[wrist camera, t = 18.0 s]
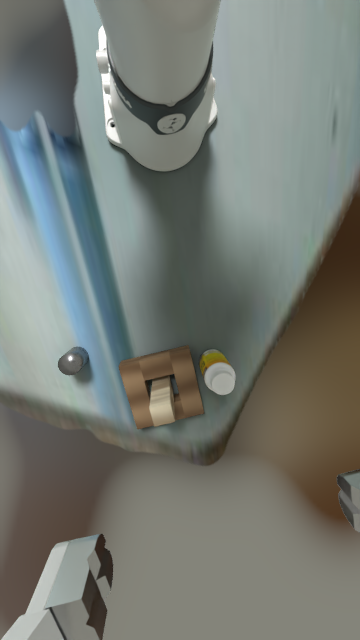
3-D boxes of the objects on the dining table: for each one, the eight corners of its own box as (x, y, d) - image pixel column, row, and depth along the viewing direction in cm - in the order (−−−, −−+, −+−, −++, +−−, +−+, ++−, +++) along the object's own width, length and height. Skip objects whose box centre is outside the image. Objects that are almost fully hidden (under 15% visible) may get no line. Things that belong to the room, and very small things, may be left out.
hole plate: (121, 360, 47) (118, 366, 45) (188, 345, 48) (189, 349, 45) (139, 420, 50) (137, 429, 47) (202, 405, 51) (204, 413, 48)
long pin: (152, 378, 49) (149, 408, 38) (169, 374, 49) (170, 403, 38) (156, 393, 49) (154, 426, 39) (173, 389, 49) (175, 421, 39)
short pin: (65, 349, 46) (54, 357, 42) (85, 344, 46) (76, 352, 42) (71, 367, 47) (62, 377, 43) (91, 363, 47) (83, 372, 43)
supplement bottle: (196, 350, 48) (204, 371, 38) (223, 346, 48) (238, 366, 38) (200, 375, 49) (209, 402, 39) (226, 371, 49) (241, 396, 39)
